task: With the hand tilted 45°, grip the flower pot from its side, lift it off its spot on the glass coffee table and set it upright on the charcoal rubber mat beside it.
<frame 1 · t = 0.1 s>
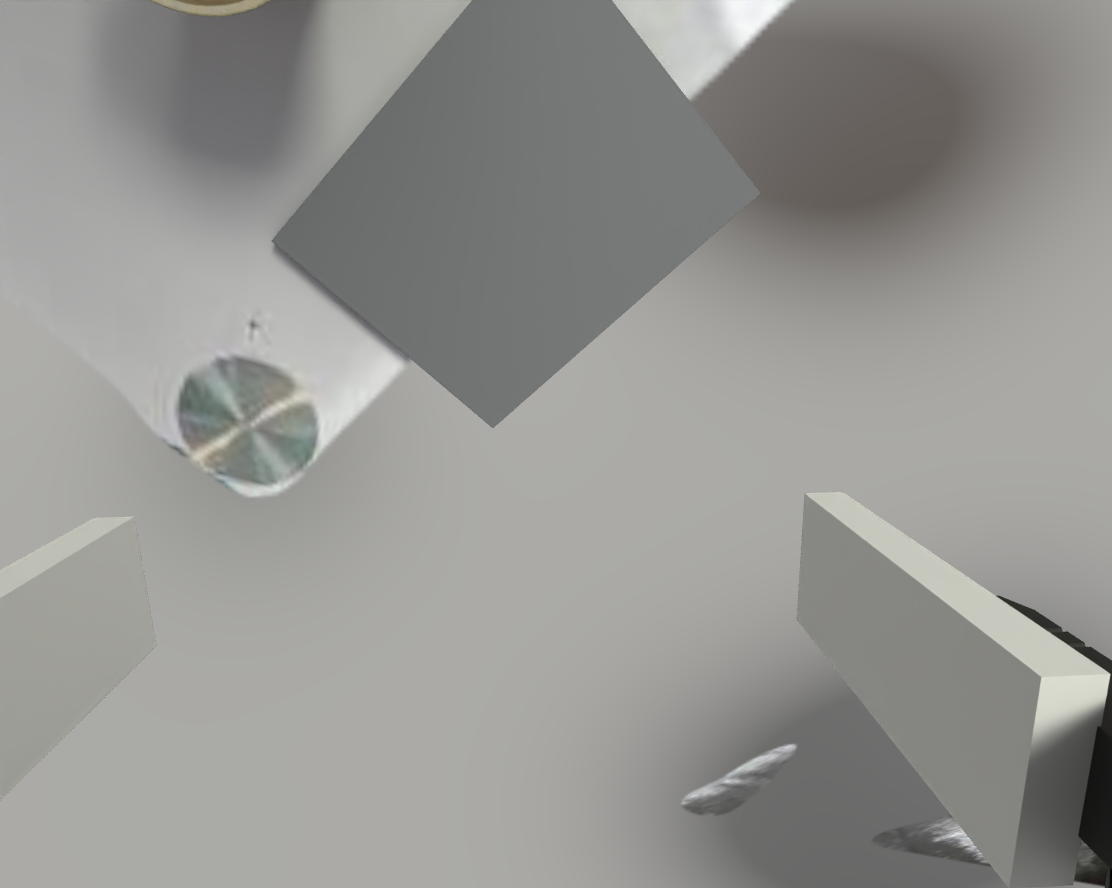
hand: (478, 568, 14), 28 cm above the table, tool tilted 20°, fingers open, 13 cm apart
charcoal mat: (514, 213, 37), on the table
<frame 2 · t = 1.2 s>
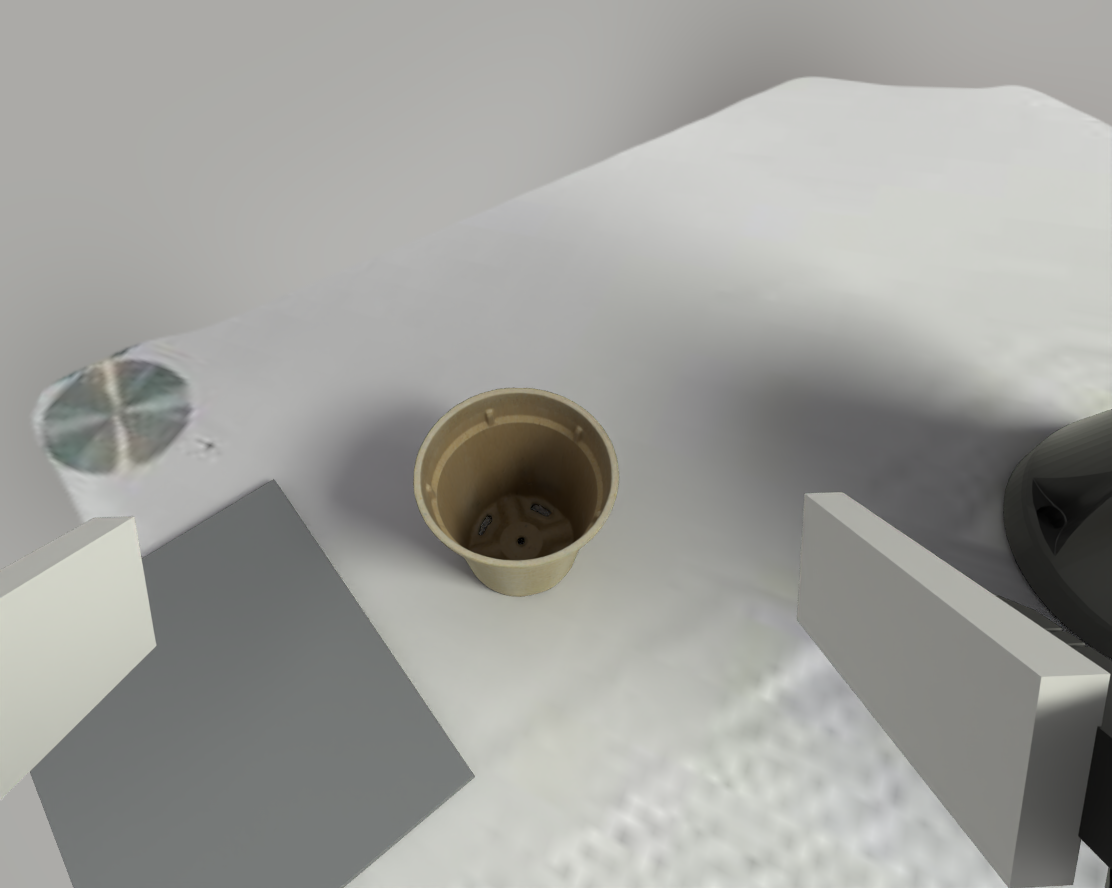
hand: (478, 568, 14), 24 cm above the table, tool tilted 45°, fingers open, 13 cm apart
charcoal mat: (225, 714, 35), on the table
flower pot: (523, 546, 40), on the table
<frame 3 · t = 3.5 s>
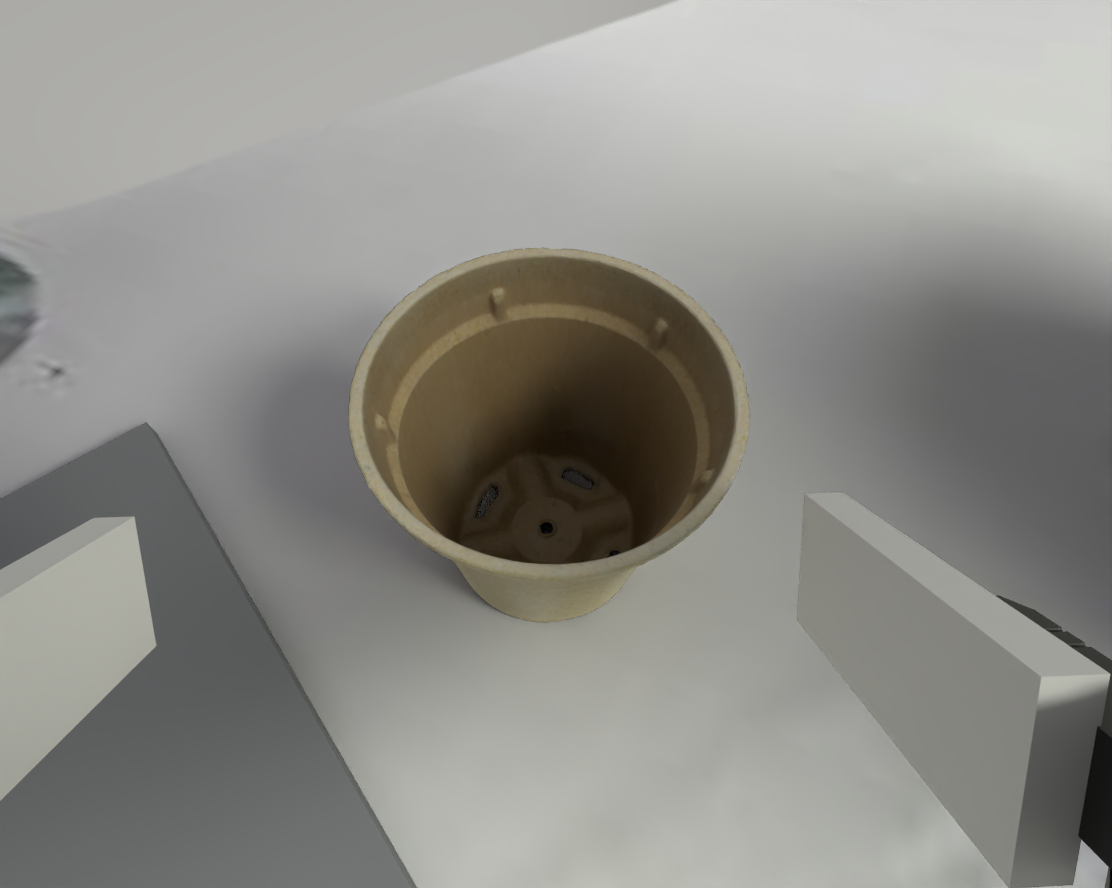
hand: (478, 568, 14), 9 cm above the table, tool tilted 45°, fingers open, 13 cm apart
charcoal mat: (14, 830, 19), on the table
flower pot: (549, 537, 24), on the table
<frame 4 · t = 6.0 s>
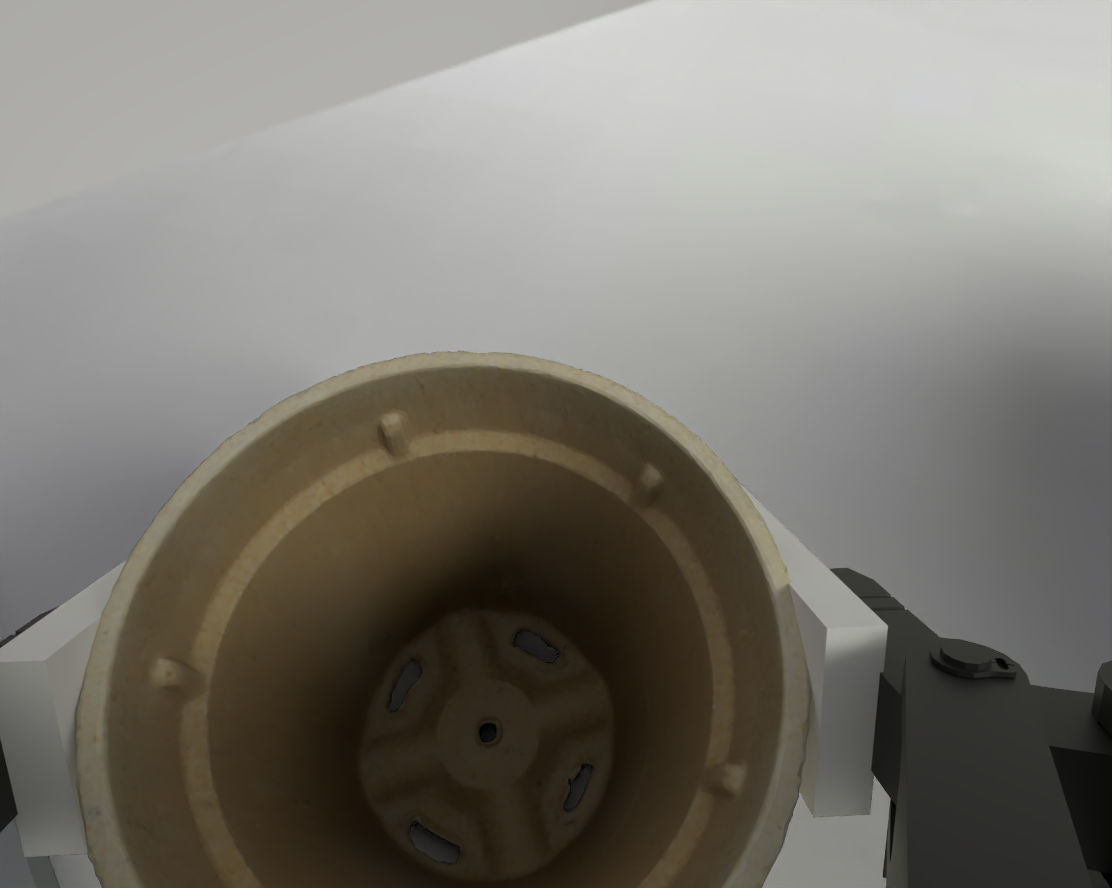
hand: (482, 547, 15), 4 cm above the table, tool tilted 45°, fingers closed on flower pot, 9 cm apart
flower pot: (494, 737, 17), on the table, touching gripper
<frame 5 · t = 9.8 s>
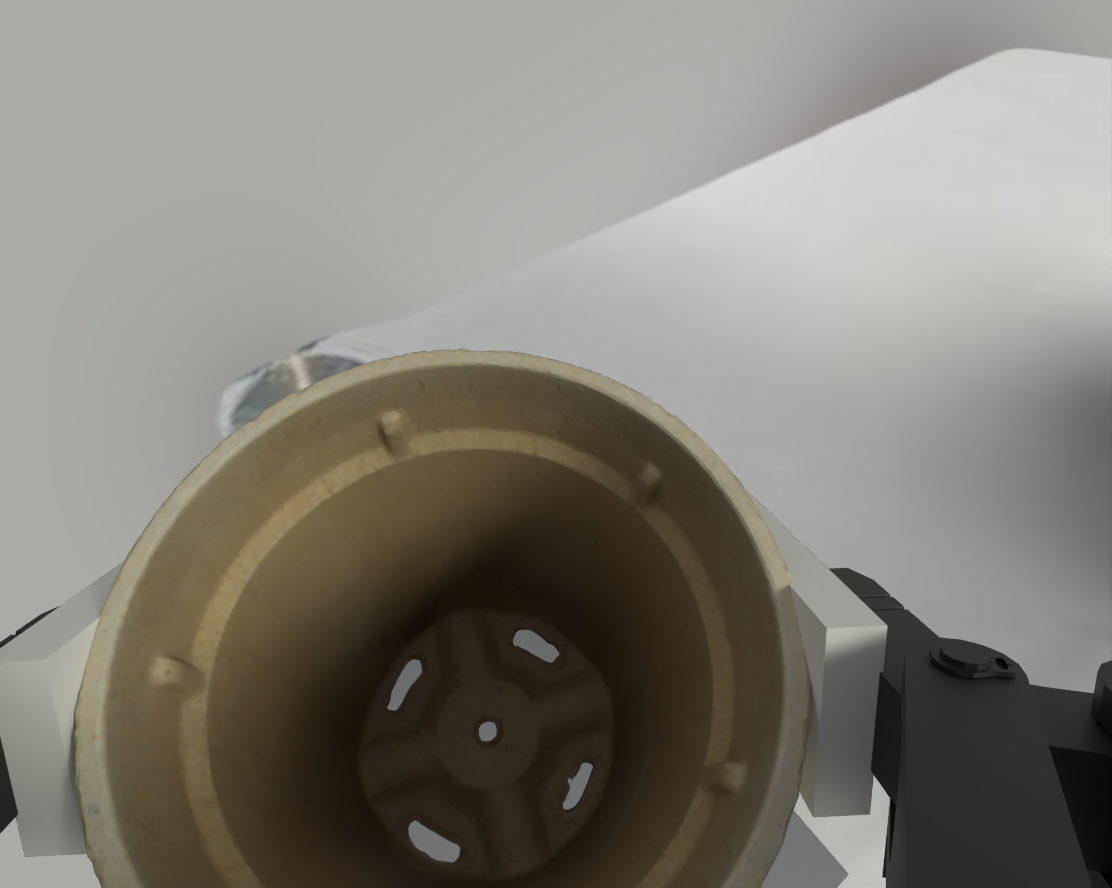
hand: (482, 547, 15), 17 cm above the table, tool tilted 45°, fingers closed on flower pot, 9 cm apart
charcoal mat: (515, 791, 28), on the table
flower pot: (494, 736, 17), point 13 cm above the table, touching gripper
when the fingers open (5 cm above the table, at t = 13.5 s): flower pot stays where it is, resting on charcoal mat.
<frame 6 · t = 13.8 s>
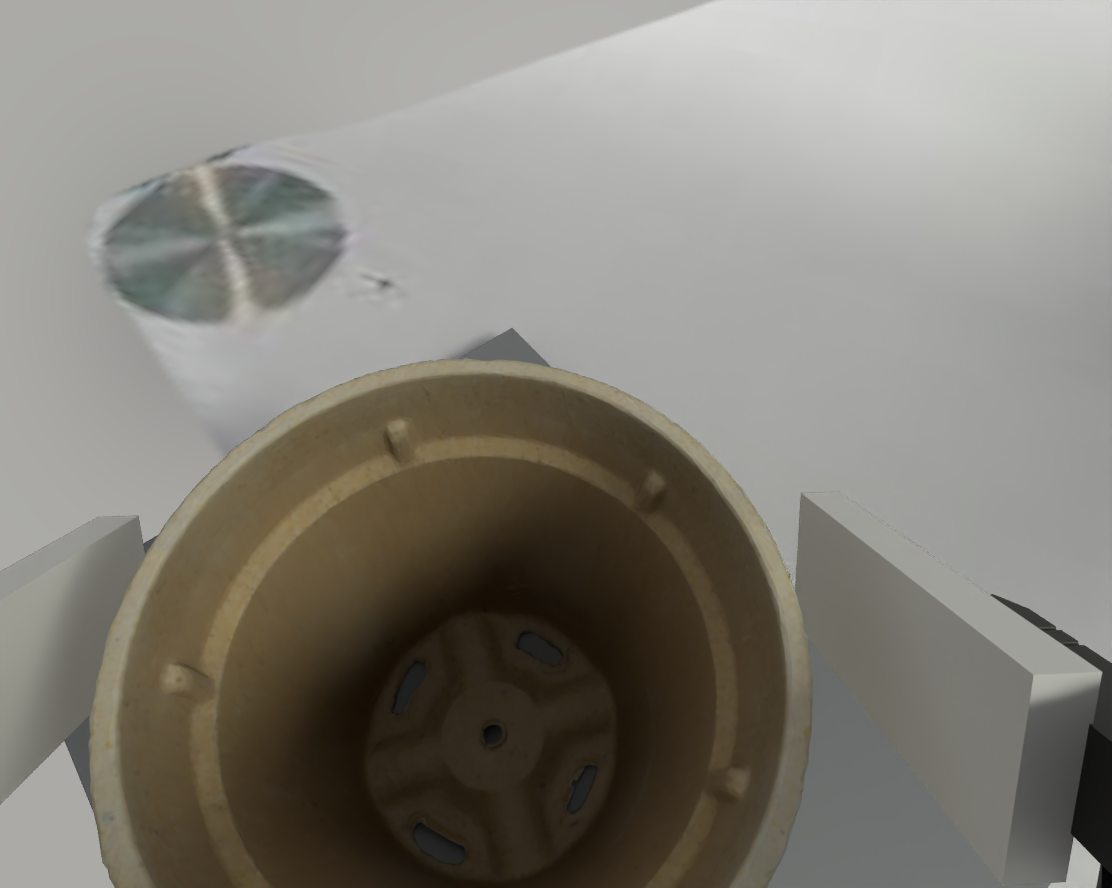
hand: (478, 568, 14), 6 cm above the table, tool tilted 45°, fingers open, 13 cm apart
charcoal mat: (495, 742, 17), on the table
flower pot: (498, 739, 17), point 1 cm above the table, touching charcoal mat
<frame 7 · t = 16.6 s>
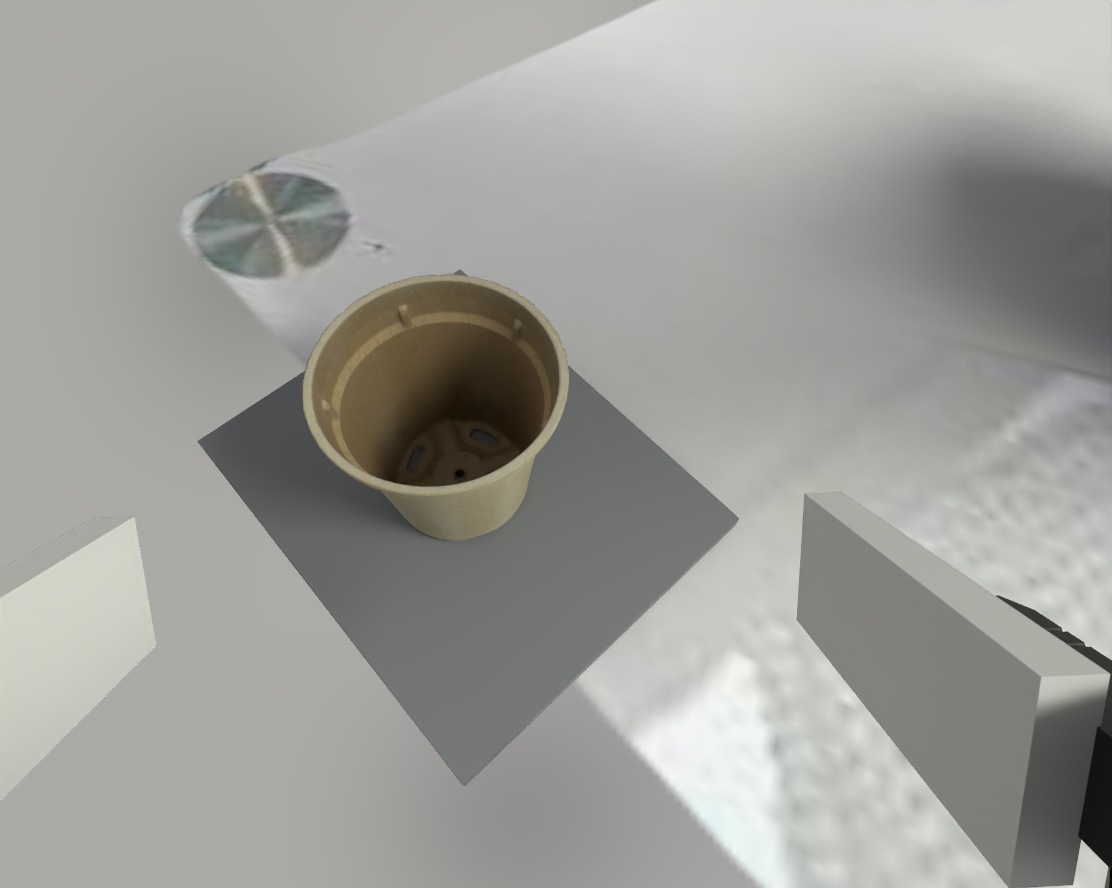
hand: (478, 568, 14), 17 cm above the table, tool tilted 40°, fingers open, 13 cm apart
charcoal mat: (463, 486, 33), on the table
flower pot: (463, 481, 33), point 1 cm above the table, touching charcoal mat
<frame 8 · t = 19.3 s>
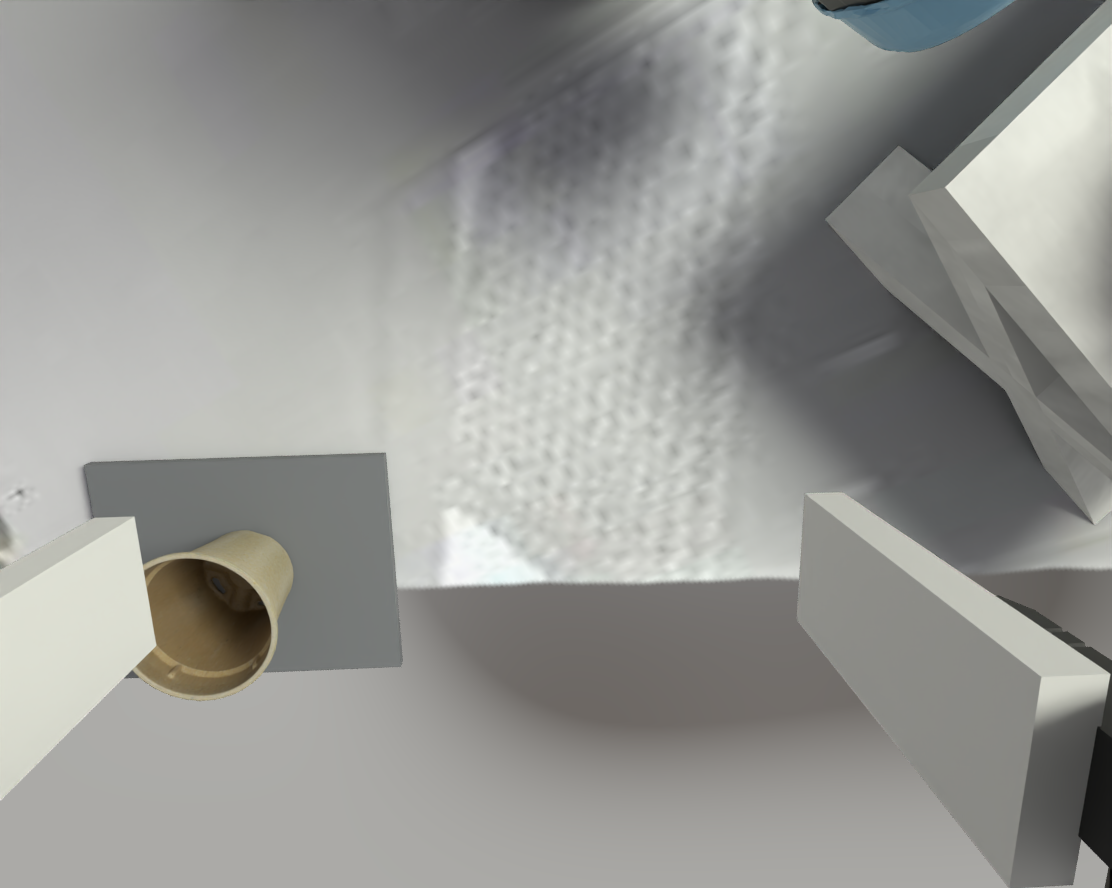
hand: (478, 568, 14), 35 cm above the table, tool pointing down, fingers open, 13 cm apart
charcoal mat: (253, 565, 50), on the table
flower pot: (251, 568, 50), point 1 cm above the table, touching charcoal mat
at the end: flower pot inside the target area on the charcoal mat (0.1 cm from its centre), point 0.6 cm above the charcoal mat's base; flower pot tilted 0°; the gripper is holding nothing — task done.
